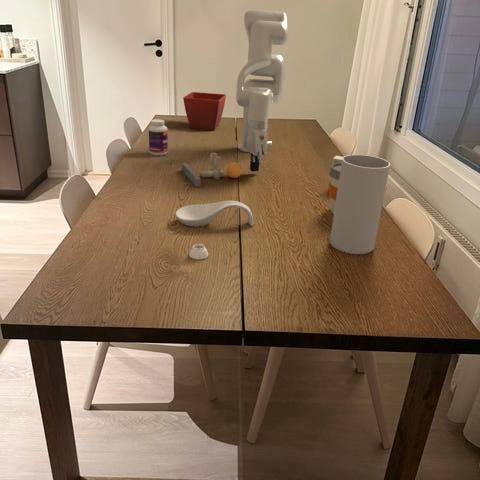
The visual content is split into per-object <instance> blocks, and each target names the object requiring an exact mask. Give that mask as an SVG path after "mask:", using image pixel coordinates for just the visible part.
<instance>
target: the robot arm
mask: <svg viewBox="0 0 480 480" xmlns="http://www.w3.org/2000/svg"><path fill="white" fill-rule="evenodd" d="M288 23H289V22H288V17H287V14H286V12H284V11H281V10H267V9H249V10H246V12H244V15H243V24H244V28H245V31H246V35H247V39H248V48H247V49H248V52H247V63H245V65H244V66H243V67H242V69H241V70H240V71H239V74H238V77H237V81H236V91H235V92H236V95H235V96H236V97H235V98H236V103H237V105H238V106H240V107H243V113H242V115H243V116H242V117H243V119H242V134H241V144H239V145H238V146H237V148H238V150H239V151H241V152H244V153H249V156H250V158H249V160H250V162H249V170H250V171H251V172H259V171H260V161H261V160H263V156H266V155H267V152H268V146H272V145H273V143H272V142H273V141H272V140H271V141H268V133H267V132H268V131H267V129H268V120H269V109H270V106H271V105H272V104H273V103H279V102H280V101H281V99H282V96H283V86H284V76H285V75H284V73H285V59H284V57H283V56H282V54H278V53H272V50H273V49H272V47H273V45H274V46H276V45H277V46H283V45H285V44H286V43H287V41H288V38H289V24H288ZM249 75H250V76H254V77H267V78H268V77H269V78H272V79H264V78H263V79H262V78H249V79H247V80H246V78H247V77H248V76H249Z"/></svg>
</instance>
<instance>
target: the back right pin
mask: <svg viewBox="0 0 480 480" xmlns="http://www.w3.org/2000/svg"><path fill="white" fill-rule="evenodd" d="M215 156H218V153H216V152H211V153H210V156H209V157H210V160H209V161H210V162H209V171H214V157H215Z"/></svg>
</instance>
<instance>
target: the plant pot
mask: <svg viewBox="0 0 480 480" xmlns="http://www.w3.org/2000/svg"><path fill="white" fill-rule="evenodd" d="M226 95H227V94H224V93H209V92H199V91H198V92H197V91H191V92H190V93H188V94H186V95H185V96H183V104H184V110H185V114H186V117H187V118H186V119H187V121H188V124H189V127H190V129H191V130H198V129H202V130H201V131H210V132H211V131H212V132H213V131H215V130H216V129H217V128H218V127H219V125H220V123H221V119H222V117H223V113H224V108H225V103H226V98H227V96H226Z"/></svg>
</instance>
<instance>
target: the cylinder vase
mask: <svg viewBox="0 0 480 480" xmlns="http://www.w3.org/2000/svg"><path fill="white" fill-rule="evenodd" d="M342 157H343V158H342V164H341V171H340V177H339V184H338V190H337V197H336V204H335V210H334V213H333V218H332V224H331V232H330V238H329V243H330V245H331V246H332V247H333V248H334V249H336V250H337V251H339V252H342V253H344V252H345V254H348V253H349V255H358V254H359V255H365V254H369V253H371V252H372V251H373V250H374V249H375V246H376V239H377V235H378V230H379V224H380V221H381V220H380V219H381V215H382V208H383V204H384V199H385V194H386V189H387V184H388V179H389V174H390V173H389V172H390V167H391V163H390V162H389V161H388V160H386V159H384V158H381V157H377V156H374V155H367V154H347V155H344V156H342Z"/></svg>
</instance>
